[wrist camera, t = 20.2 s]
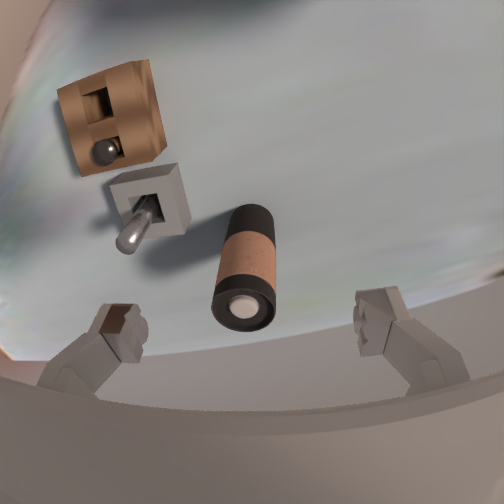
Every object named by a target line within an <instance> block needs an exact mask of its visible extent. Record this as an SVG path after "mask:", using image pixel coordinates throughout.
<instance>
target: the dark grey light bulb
mask: <svg viewBox="0 0 504 504" xmlns="http://www.w3.org/2000/svg"><path fill="white" fill-rule="evenodd" d="M122 149H123V148H122V145H121V141H120V137H119V136H115V137H112V138H111V139H102V140H100V141H99V142H97V143H96V144H95V145H94V147H93V149H92V155H93V158H94V160H95V161H96V163H98V164H99V165H101V166H108V165H110V164H111V163H113V162H114V161H115V160H116V158H117V156H118V152H120V151H121V150H122Z"/></svg>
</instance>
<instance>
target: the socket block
mask: <svg viewBox="0 0 504 504" xmlns="http://www.w3.org/2000/svg"><path fill="white" fill-rule="evenodd" d="M106 87H107V89H108V93H109V97H110V102H111V106H112V110H113V113H111V114H110V112H109V108H108V104H107V99H106V95H105V91H104V88H106ZM57 94H58V98H59V102H60V106H61V110H62V114H63V117H64V121H65V125H66V128H67V132H68V135H69V139H70V142H71V145H72V149H73V152H74V155H75V158H76V161H77V164H78V167H79V170H80V173H81V176H82V177H84V176H88V175H92V174H96V173H100V172H105V171H109V170H113V169H118V168H123V167H127V166H132V165H137V164H142V163H147V162H152V161H153V160H154V159H155V158H156V157H157V156H158V155H159V154H160V153H161V152H162V151H163V150H164V149H165V148H166V147H167V142H166V138H165V134H164V130H163V125H162V121H161V116H160V112H159V107H158V102H157V98H156V93H155V88H154V83H153V79H152V74H151V68H150V63H149V60H140V61H132V62H127V63H124V64H121V65H118V66H115V67H112V68H110V69H107V70H104V71H101V72H98V73H96V74H93V75H91V76H88V77H85V78H83V79H81V80H78V81H76V82H73V83H71V84H69V85H66V86H64V87H62V88H60V89H57ZM115 136H119V137H120V141H121V145H122V148H123V149H122V150H121V151H120V152H118V156H117V158H116V160H115V161H114V162H113V163H111V164H110V165H108V166H101V165H99V164H98V163H96V161H95V160H94V158H93V155H92V149H93V147H94V145H95V144H96V143H97V142H99V141H100V140H102V139H111V138H112V137H115Z"/></svg>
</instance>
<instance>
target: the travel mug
mask: <svg viewBox="0 0 504 504" xmlns="http://www.w3.org/2000/svg"><path fill="white" fill-rule="evenodd" d="M211 310H212V313H213V315H214V317H215V319H216V320H217V321H218V322H219V323H220V324H221V325H223V326H225V327H226V328H228V329H231V330H234V331H239V332H253V331H257V330H260V329H263V328H265V327H266V326H268V325H269V324H270V323H271V322H272V320H273V319H274V317H275V313H276V245H275V231H274V221H273V217H272V215H271V213H270V212H269V211H268V210H267V209H266V208H264V207H262V206H260V205H257V204H247V205H243V206H241V207H239V208H238V209H237V210H236V211H235V212H234V213H233V215H232V217H231V220H230V224H229V227H228V231H227V234H226V238H225V242H224V245H223V250H222V255H221V260H220V265H219V270H218V275H217V280H216V285H215V291H214V296H213V301H212V305H211Z"/></svg>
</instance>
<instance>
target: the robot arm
mask: <svg viewBox="0 0 504 504" xmlns="http://www.w3.org/2000/svg"><path fill="white" fill-rule="evenodd" d="M355 301H356V306H355V307H354V313H353V322H354V328H355V333H356V334H358V335H359V336H358V347H359V351H360V356H361V357H364V356H373V355H382V354H383V356H384V357H385V358H386V359H387V360H388V361H389V363H390V364H391V365H392V366H393V367H394V368H395V369H396V370H397V371H398V372H399V373H400V374H401V375H402V376H403V377H404V378H405V380H406V381H407V382H408V383H409V384H410V387H409V389H408V391H407V393H406V395H405V396H403V397H398V398H392V399H387V400H381V401H374V402H368V403H361V404H353V405H345V406H336V407H326V408H315V409H302V410H285V411H255V412H254V411H253V412H252V411H248V412H237V411H233V412H230V411H200V410H182V409H168V408H158V407H149V406H139V405H132V404H124V403H118V402H111V401H104V400H100V399H99V398H98V397H97V396H96V395H95V394H94V393H95V392H96V391H97V390H98V388H100V386H101V385H102V384H103V383H104V382H105V381H106V380H107V379H108V378H109V377H110V376H111V374H112V373H113V372H114V371H115V370H116V369H117V368H118V367H119V365H120V364H121V363H139V362H140V359H141V356H142V353H143V348H142V345H143V344H144V343H145V342H146V341H147V338H148V325H147V322H146V320H145V318H143V317H142V316H141V315H140V312H141V310H140V308H139V306H138V305H137V304H103V305H101V307H100V309H99V311H98V313H97V315H96V317H95V319H94V321H93V323H92V325H91V327H90V329H89V331H88V333H84V334H82V335H81V336H80V337H79V338H77V339H76V340H75V341H74V342H72V343H71V344H70V345H69V346H67V347H66V348H65V349H64V350H63V351H61V352H60V353H59V354H58V355H56V356H55V357H54V358H53V359H51V360H50V361H49V362H48V363H47V364H46V366H45V368H44V370H43V372H42V374H41V376H40V379H39V381H38V383H37V385H36V386H35V385H31V384H27V383H24V382H20V381H17V380H13V379H10V378H7V377H4V376H0V504H504V370H502V371H499V372H496V373H493V374H489V375H486V376H483V377H480V378H477V379H473V380H471V379H470V377H469V374H468V371H467V368H466V366H465V363H464V361H463V358H462V356H461V353H460V352H459V351H458V350H456V349H455V348H453V347H452V346H451V345H450V344H448V343H447V342H446V341H444V340H443V339H442V338H441V337H439V336H438V335H437V334H435V333H434V332H433V331H431V330H430V329H429V328H427V327H426V326H424V325H423V324H422V323H420V322H419V321H418V320H416V319H415V318H412V319H411V318H410V315H409V313H408V310H407V308H406V305H405V303H404V300H403V298H402V295H401V293H400V291H399V288H398V287H397V286H392V287H384V288H376V289H367V290H358V291H356V295H355Z"/></svg>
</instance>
